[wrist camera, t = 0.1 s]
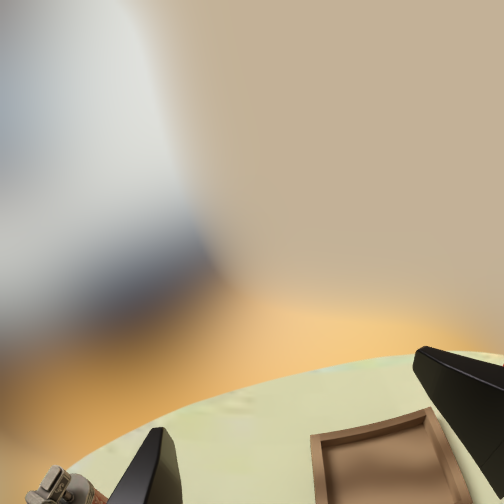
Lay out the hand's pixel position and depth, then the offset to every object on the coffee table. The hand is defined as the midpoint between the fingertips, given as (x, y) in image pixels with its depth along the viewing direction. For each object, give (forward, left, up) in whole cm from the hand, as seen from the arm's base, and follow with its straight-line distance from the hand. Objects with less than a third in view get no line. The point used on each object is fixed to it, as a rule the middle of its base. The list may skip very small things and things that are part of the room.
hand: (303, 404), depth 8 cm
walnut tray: (+1, -7, -17) cm, 18 cm away
